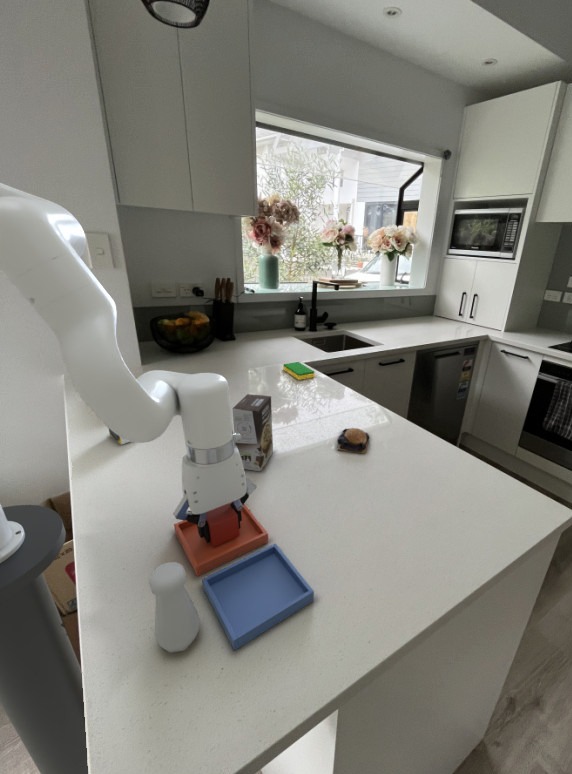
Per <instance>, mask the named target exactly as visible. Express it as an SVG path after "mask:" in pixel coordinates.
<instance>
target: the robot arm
mask: <svg viewBox="0 0 572 774" xmlns="http://www.w3.org/2000/svg"><path fill="white" fill-rule="evenodd" d="M86 246H87V237H86V234H85V231H84V229H83V227H82V225H81V223H80V222H79V220H77V218H76V217H75V216H74V214H72V213H71V212H70V211H69V210H67V208H65V207H63V206H61V205H60V204H58V203H56V202H53V201H52V200H48V199H46V198H44V197H43V198H42V197H40V196H37V195H34V194H32V193H29V192H26V191H24V190H21V189H18V188H15V187H13V186H10V185H7V184H5V183H2V182H0V273H1V274H2V275H3V276H4V277H5V278H6V280H7V281H8V282H9V283H10V284H11V285H12V287H13V288H14V289H15V290H16V291H17V293H19V294H20V296H21V297H22V298H23V299H24V300H25V302H27V304H28V305H29V306H30V307H31V308H32V309H33V311H35V313H36V314H37V315H38V316H39V317H40V319H42V320H43V322H44V323H45V324H46V325H47V327H48V328H49V329H50V330H51V331H52V332H53V334H54V335H55V337H56V339H57V342H58V347H59V352H60V355H61V358H62V361H63V364H64V366H65V369H66V372H67V374H68V378H69V379H70V381H71V384H72V387H73V388H74V390H75V392H76V393H77V394H78V396H79V398H80V399H81V401H83V403H84V404H85V405H86V406H87V407H88V408H89V409H90V410H91V412H93V414H94V415H95V416H96V417H97V418H98V419H99V420H100V421H101V422H102V423H103V424H104V426H106V427H107V429H108V430H109V429H110V430H112V431H113V432H114V433H115V434H117V435H118V436H120V437H122V438H123V439H125V440H128V441H131V443H136V444H145V443H150V442H153V441H155V440H157V439H158V438H159V437H161V436H162V435H163V434H164V433H165V431H166V430H167V429H168V428H169V426H170V424H171V422H173V421H172V420H173V419H174V417H176V416H179V417H180V419H181V424H182V428H183V429H182V430H183V435H184V436H183V437H184V443H185V450H186V454H184V455H183V457H182V460H181V461H182V462H181V489H182V498H181V499H180V502H179V504H178V505H177V506H176V508H175V509H174V511H173V516H174V517H175V519H176V520H179V521H180V520H181V521H183V520H184V521H185V520H186V521H188V522H190V523H193V524H196V525H197V528H198V533H199V536H200V538H203V537H204V539H205V540H206V542H207V543H209V542H210V541H211V539H210V532H209V526H208V524H207V522H206V518H207V513H208V511H210V510H213V509H215V508H218V507H220V506H223V505H225V504H228V503H230V502H232V503H231V504H230V505H231V507H232V508H233V509H234V511H235V512H236V513H237V515H238V525H239V529H240V528H241V527H240V521H242V515H241V510H242V509H243V505H244V504H245V503H246V502H247V501H248V500H249V498H250V495H252V494H253V492H254V491H255V490H256V489H257V485H256V484H255V482H254V481H252V480H250V479H249V478H247V477H246V473H245V469H244V468H243V464H242V460H241V457H240V453H239V451H238V448H237V447H236V445H235V444H236V442H237V441H238V440H241V434H240V433H234V426H233V416H232V406H231V396H230V387H229V381H227V379H226V378H225V377H224V375H221V374H219V373H214V372H198V373H193V374H190V373H185V372H176V371H170V370H165V369H164V370H162V369H154V370H149V371H146V372H144V373H142V374H141V375H140V376H138V377H139V378H138V379H137V380H136V379H135V378H136V377H135V376H134V374H133V373H132V372H131V371H130V369H129V367H128V366H127V364H126V362H125V361H124V358H123V357H122V353H121V351H120V348H119V344H118V340H117V322H118V309H117V304H116V302H115V300H114V299H113V298H112V296H110V295H111V294H109V293H108V292H107V290H106V289H105V287H104V286H103V285H102V283H101V282H100V281H99V280H98V279H97V277H96V276H95V274H93V272H92V271H91V269H90V268H89V267H88V266H87V264H86V263H85V262H84V261H83V259H82V258H81V257H83V255H84V253H85V251H86ZM2 508H3V506H2V505H1V503H0V563H2V562H3V561H5V560H6V559H8V558H9V557H10V556H11V555H12V554H14V553H15V552H16V551H17V550H18V548H19V547H20V546H21V544H22V543H23V541H24V539H25V532H24V529H23V527H22V526H21V525H20V524H18V523H16V522H13V521H7V519H6V516H5V514H4V511H3V509H2ZM188 509H190V510H188Z"/></svg>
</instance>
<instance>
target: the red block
mask: <svg viewBox="0 0 572 774" xmlns="http://www.w3.org/2000/svg"><path fill="white" fill-rule="evenodd" d="M206 522H207V524H208V526H209V532H210V539H211V541H210V543H211V544H212V546H213V547H216V546H218V545H220V544H222V543H225V542H227V541H229V540H231V539H233V538H235V537H238V536H240V535H239V525H238V515H237V513H236V512H235V511H234V509H233V508H232V507H231V505H230V504H229V503H228V504H225V505H223V506H220V507H218V508H215V509H213V510H210V511H208V513H207V518H206Z"/></svg>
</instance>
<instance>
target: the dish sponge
mask: <svg viewBox="0 0 572 774" xmlns="http://www.w3.org/2000/svg"><path fill="white" fill-rule="evenodd" d="M282 365H283V367H282V368H283V370H284V371H285V372H286V373H287V374H289V375H291V376H292V377H294V378H295V379H296V380H298V381H301V380H307V379H311V378H315V371H314V370H312V368H310V367H307V366H306V365H304V364H303V363H301V362H300V361H293V362H287V363H283V364H282Z"/></svg>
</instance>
